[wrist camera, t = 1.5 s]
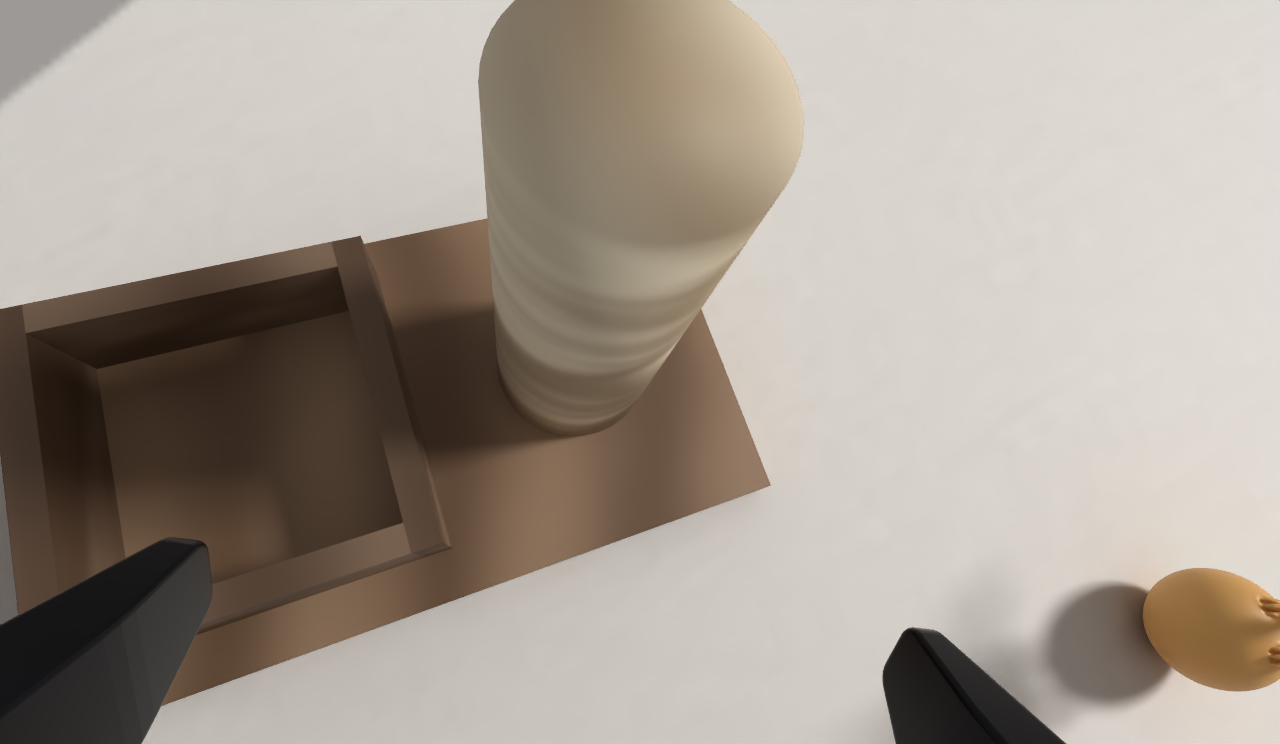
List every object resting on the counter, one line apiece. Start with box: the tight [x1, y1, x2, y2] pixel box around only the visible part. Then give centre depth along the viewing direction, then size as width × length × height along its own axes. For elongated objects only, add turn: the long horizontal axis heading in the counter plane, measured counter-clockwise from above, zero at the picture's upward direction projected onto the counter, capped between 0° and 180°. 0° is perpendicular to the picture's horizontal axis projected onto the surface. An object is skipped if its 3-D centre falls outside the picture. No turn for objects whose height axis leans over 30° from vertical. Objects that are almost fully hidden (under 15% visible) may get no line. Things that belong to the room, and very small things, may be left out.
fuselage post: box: [478, 0, 804, 436], centre depth 16 cm, size 5×5×13 cm
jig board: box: [0, 219, 771, 706], centre depth 20 cm, size 20×12×4 cm, turn 110°
